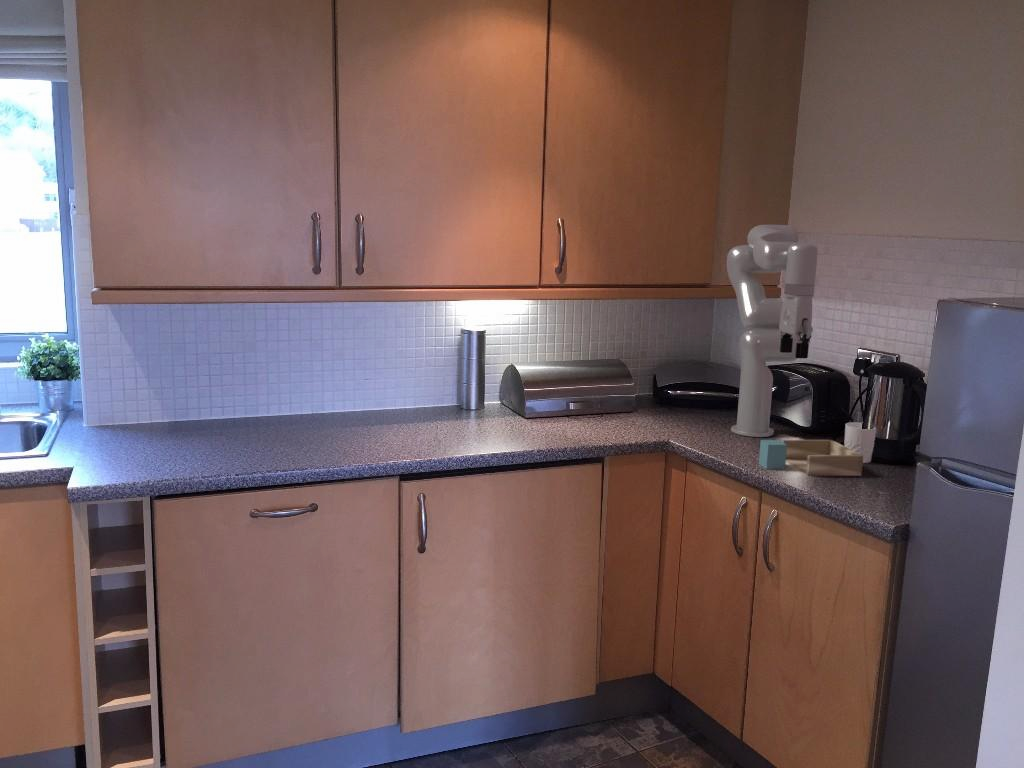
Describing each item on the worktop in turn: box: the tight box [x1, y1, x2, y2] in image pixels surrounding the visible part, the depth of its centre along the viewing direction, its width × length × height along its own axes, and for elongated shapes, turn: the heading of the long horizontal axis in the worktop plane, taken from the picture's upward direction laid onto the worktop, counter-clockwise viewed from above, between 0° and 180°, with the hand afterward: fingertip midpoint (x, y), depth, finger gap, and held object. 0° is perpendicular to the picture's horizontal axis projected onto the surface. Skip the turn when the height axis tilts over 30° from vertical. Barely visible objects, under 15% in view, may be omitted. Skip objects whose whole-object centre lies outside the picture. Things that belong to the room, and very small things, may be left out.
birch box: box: [781, 439, 864, 477], centre depth 229 cm, size 17×14×6 cm
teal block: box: [758, 439, 787, 470], centre depth 228 cm, size 5×5×7 cm
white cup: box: [843, 421, 877, 464], centre depth 237 cm, size 8×8×10 cm
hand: (793, 355), depth 234 cm, fingers open, 9 cm apart
